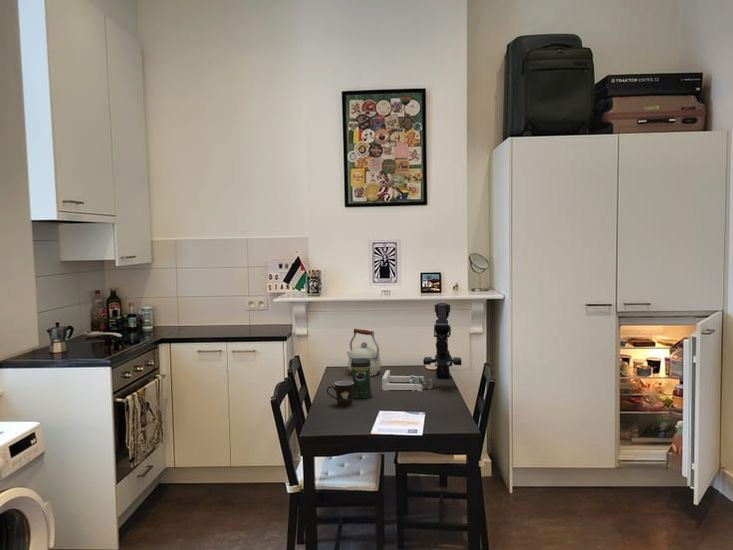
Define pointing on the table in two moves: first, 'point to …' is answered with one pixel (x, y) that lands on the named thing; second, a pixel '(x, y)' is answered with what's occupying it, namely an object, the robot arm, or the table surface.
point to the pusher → (412, 379)
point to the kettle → (365, 352)
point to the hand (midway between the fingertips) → (442, 378)
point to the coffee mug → (343, 392)
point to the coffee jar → (361, 377)
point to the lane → (388, 386)
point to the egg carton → (425, 383)
